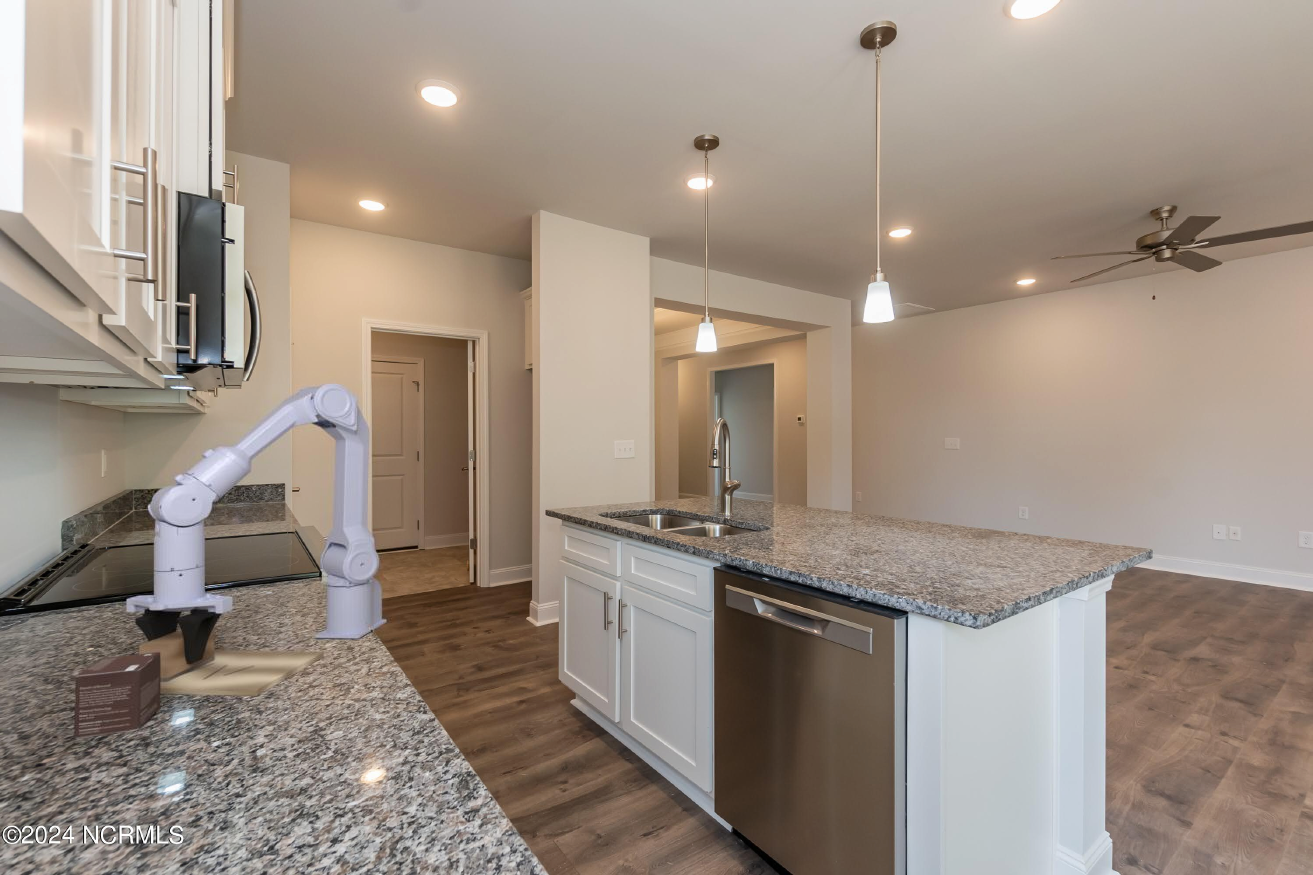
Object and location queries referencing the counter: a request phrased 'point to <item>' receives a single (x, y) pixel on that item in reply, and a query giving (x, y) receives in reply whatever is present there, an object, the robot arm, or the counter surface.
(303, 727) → the counter surface
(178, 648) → the sanding block
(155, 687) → the box
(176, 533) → the robot arm
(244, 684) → the board
